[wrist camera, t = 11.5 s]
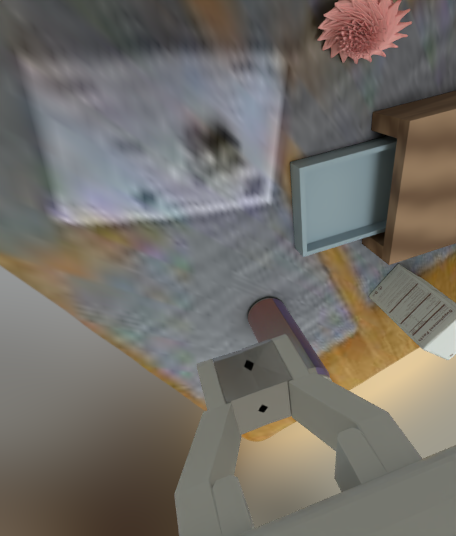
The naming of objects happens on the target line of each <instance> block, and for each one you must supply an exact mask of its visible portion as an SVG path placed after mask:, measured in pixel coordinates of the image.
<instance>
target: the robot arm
mask: <svg viewBox="0 0 456 536" xmlns="http://www.w3.org/2000/svg"><path fill="white" fill-rule="evenodd" d="M213 362H214V363H213ZM197 370H198V374H199V378H200V382H201V386H202V390H203V394H204V398H205V402H206V406H207V411H205V412H203V414H202V417H201V420H200V422H199V425H198V428H197V431H196V434H195V437H194V440H193V443H192V445H191V448H190V452H189V454H188V457H187V460H186V463H185V466H184V468H183V471H182V474H181V477H180V480H179V483H178V486H177V489H176V491H175V503H176V512H177V520H178V527H179V536H456V445H455V446H453V447H450V448H448V449H445V450H443V451H440V452H438V453H436V454H433V455H431V456H428V457H426V458H423V459H422V457H421V456H420V455H419V453H418V452H417V451H416V449H415V448H414V447H413V445H412V444H411V443H410V441H409V440H408V439H407V437H406V436H405V434H404V433H403V432H402V430H401V429H400V428H399V426H398V425H397V424H396V422H395V421H394V420H393V418H392V417H391V416H390V414H389V413H388V412H387V411H385V410H383V409H381V408H379V407H377V406H375V405H374V404H371V403H370V402H368V401H366V400H365V399H363V398H361V397H359V396H357V395H355V394H354V393H352V392H350V391H348V390H346V389H344V388H343V387H341V386H339V385H337V384H335V383H334V382H332V381H330V380H328V379H326V378H324V377H323V376H321V375H319V374H317V373H315V372H313V373H309V371H308V369H307V367H306V366H305V364H304V362H303V361H302V359H301V357H300V356H299V354H298V352H297V351H296V349H295V347H294V346H293V344H292V342H291V341H290V339H289V337H288V336H287V335H286V334H284V335H281V336H278V337H275V338H272V339H268V340H265V341H263V342H260V343H257V344H254V345H251V346H249V347H246V348H243V349H242V350H239V351H236V352H232V353H229V354H226V355H223V356H219V357H216V358H213V360H212V359H210V360H207V361H204V362H201V363H198V364H197ZM216 372H217V373H216ZM290 416H292V418H294V419H295V420H296V421H298V422H299V423H300V424H301V425H303V426H304V427H305V428H307V429H308V430H309V431H310V432H312V433H313V434H314V435H316V436H317V437H318V438H320V439H321V440H322V441H323V442H325V443H326V444H327V445H329V446H330V447H331V448H333V449H334V450H335V451H336V464H335V480H336V482H337V484H338V486H339V488H340V490H341V493H339V494H337V495H334V496H332V497H330V498H327V499H324V500H322V501H320V502H317V503H315V504H312V505H310V506H307V507H305V508H303V509H301V510H298V511H295V512H293V513H291V514H288V515H286V516H283V517H281V518H278V519H276V520H274V521H271V522H269V523H266V524H264V525H261V526H259V527H257V528H255V527H254V524H253V521H252V517H251V514H250V511H249V508H248V505H247V503H246V500H245V497H244V494H243V492H242V489H241V486H240V483H239V480H238V478H237V477H235V476H234V472H235V466H236V461H237V456H238V451H239V446H240V441H241V435H242V434H244V433H247V432H249V431H252V430H254V429H257V428H259V427H261V426H264V425H266V424H269V423H272V422H275V421H278V420H281V419H284V418H287V417H290Z"/></svg>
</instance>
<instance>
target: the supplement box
mask: <svg viewBox="0 0 456 536" xmlns="http://www.w3.org/2000/svg"><path fill="white" fill-rule="evenodd" d="M369 297H370V298H371V299H372V300H373V301H374V302H375V303H376V304H377V305H378V306H379V307H380V308H381V309H382V310H383V311H384V312H385V313H386V314H387V315H388V316H389V317H390V318H391V319H392V320H393V321H394V322H395V323H396V324H397V325H398V326H399V327H400V328H401V329H402V330H403V331H404V332H405V333H406V334H407V335H408V336H409V337H410V338H411V339H412V340H413V341H415V342H416V343H417V344H418V345H419V346H420V347H421V348H422V349H423V350H425V351H427V352H430V353H432V354H435V355H437V356H440V357H442V358H444V359H446V360H449V359H450V358H452V357H453V356H454V355H455V354H456V303H455V302H454V301H452V300H451V299H449V298H448V297H447V296H445V295H444V294H443V293H441V292H440V291H439V290H437V289H436V288H435V287H433V286H432V285H431V284H429V283H428V282H426V281H425V280H424V279H422V278H421V277H419V276H417V275H415V274H414V273H412V272H411V271H409V270H407V269H406V268H404V267H403V266H401V265H400V264H398V265H396V267H395V268H394V269H393V270H392V271H391V272H390V273H389V274H388V275H387V276H386V277H385V278H384V280H383V281H382V282H381V283H380V284H379V285H378V286H377V287H376V288H375V289H374V291H373V292H372V293H371V294H370V295H369Z"/></svg>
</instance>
